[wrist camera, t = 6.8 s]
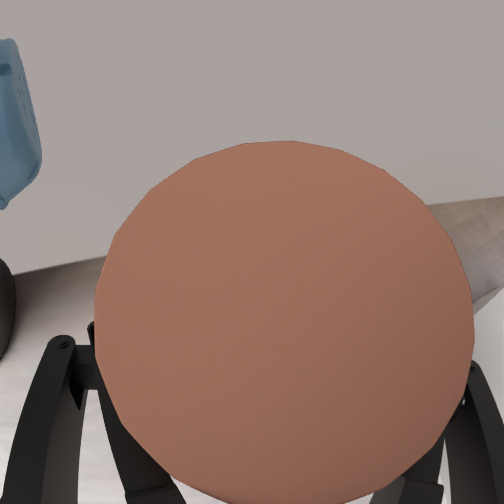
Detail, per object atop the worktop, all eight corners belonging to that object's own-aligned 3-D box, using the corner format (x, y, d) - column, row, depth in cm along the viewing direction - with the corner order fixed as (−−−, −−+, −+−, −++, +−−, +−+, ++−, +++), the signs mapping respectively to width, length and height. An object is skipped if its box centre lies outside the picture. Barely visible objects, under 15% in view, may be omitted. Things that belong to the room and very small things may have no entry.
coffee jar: (243, 280, 26) (255, 102, 10) (343, 346, 23) (497, 253, 7) (168, 375, 22) (25, 326, 6) (274, 448, 19) (359, 561, 3)
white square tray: (366, 375, 23) (403, 368, 17) (476, 300, 26) (512, 279, 20) (416, 512, 15) (452, 528, 9) (514, 416, 19) (550, 411, 13)
